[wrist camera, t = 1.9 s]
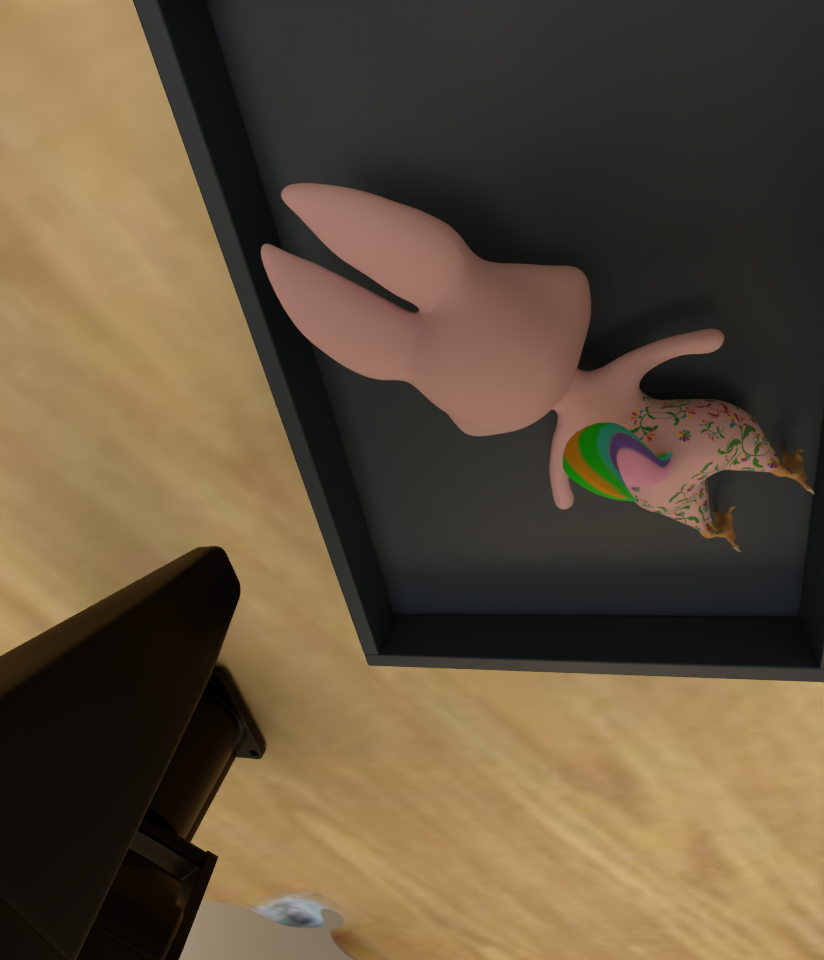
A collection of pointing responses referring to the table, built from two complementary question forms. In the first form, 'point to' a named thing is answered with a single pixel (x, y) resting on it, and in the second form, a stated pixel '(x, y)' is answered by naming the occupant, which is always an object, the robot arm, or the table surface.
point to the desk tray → (540, 241)
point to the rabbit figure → (512, 356)
